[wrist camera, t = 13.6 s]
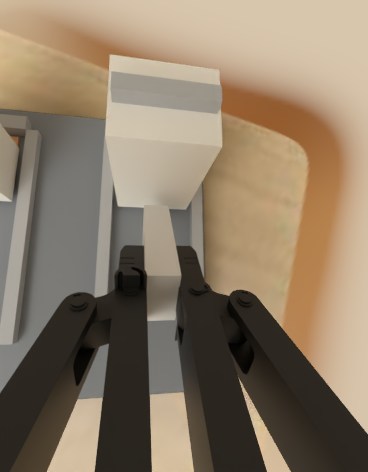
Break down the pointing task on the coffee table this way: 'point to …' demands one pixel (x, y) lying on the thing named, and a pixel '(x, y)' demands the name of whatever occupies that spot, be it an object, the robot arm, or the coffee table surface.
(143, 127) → the tab
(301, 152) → the coffee table surface
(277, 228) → the coffee table surface
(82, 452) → the coffee table surface
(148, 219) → the robot arm
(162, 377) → the switch board
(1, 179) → the tab
